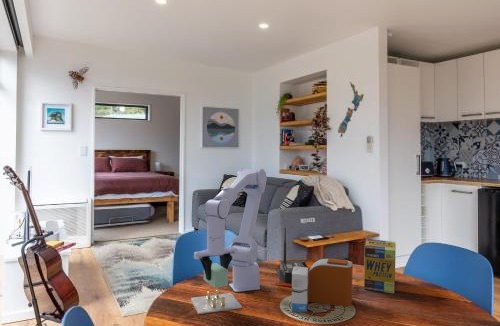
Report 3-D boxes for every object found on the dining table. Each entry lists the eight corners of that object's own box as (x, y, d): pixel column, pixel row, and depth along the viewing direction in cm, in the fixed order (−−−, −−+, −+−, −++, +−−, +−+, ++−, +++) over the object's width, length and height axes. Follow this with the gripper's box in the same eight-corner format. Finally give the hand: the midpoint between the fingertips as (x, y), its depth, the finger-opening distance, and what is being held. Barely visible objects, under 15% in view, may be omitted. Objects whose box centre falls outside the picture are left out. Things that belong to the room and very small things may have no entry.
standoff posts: (218, 296, 125) (218, 289, 125) (225, 305, 117) (225, 298, 117) (206, 298, 123) (206, 291, 123) (212, 307, 116) (212, 300, 116)
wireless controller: (316, 282, 141) (317, 238, 141) (280, 282, 141) (280, 238, 140) (306, 266, 161) (306, 227, 161) (274, 266, 161) (275, 227, 160)
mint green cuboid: (216, 277, 125) (216, 262, 125) (228, 285, 118) (228, 270, 118) (203, 279, 123) (203, 264, 123) (214, 288, 115) (214, 272, 115)
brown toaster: (352, 298, 126) (353, 258, 126) (350, 307, 118) (351, 265, 118) (309, 292, 131) (309, 254, 131) (304, 301, 123) (305, 261, 123)
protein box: (363, 289, 134) (364, 247, 134) (367, 277, 148) (367, 238, 148) (394, 294, 130) (395, 250, 130) (395, 280, 144) (395, 241, 144)
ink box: (307, 313, 114) (307, 275, 114) (291, 311, 115) (291, 273, 115) (308, 302, 122) (308, 266, 122) (293, 300, 123) (293, 265, 123)
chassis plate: (230, 294, 128) (230, 292, 128) (241, 308, 117) (241, 306, 117) (190, 299, 124) (190, 297, 124) (198, 314, 112) (198, 312, 112)
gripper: (230, 232, 127) (230, 271, 127) (190, 236, 120) (190, 278, 120) (240, 236, 121) (239, 277, 121) (198, 241, 114) (198, 284, 114)
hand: (215, 278), depth 120 cm, fingers closed on mint green cuboid, 5 cm apart
